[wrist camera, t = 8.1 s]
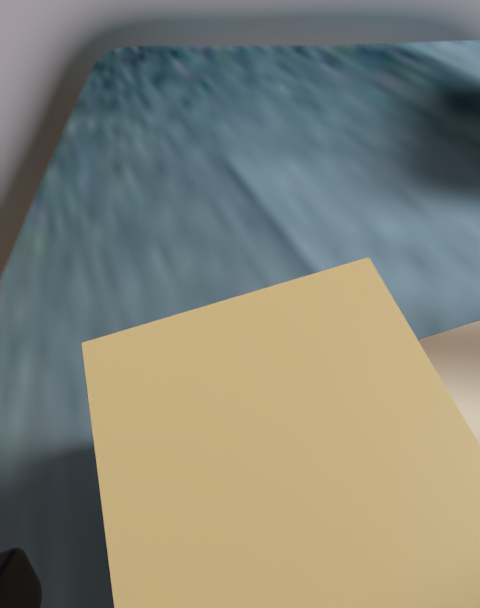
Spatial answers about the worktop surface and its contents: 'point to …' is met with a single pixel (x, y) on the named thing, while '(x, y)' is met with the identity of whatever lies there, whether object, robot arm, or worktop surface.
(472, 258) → the worktop surface
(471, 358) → the wooden blocks on plank
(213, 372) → the tea box
